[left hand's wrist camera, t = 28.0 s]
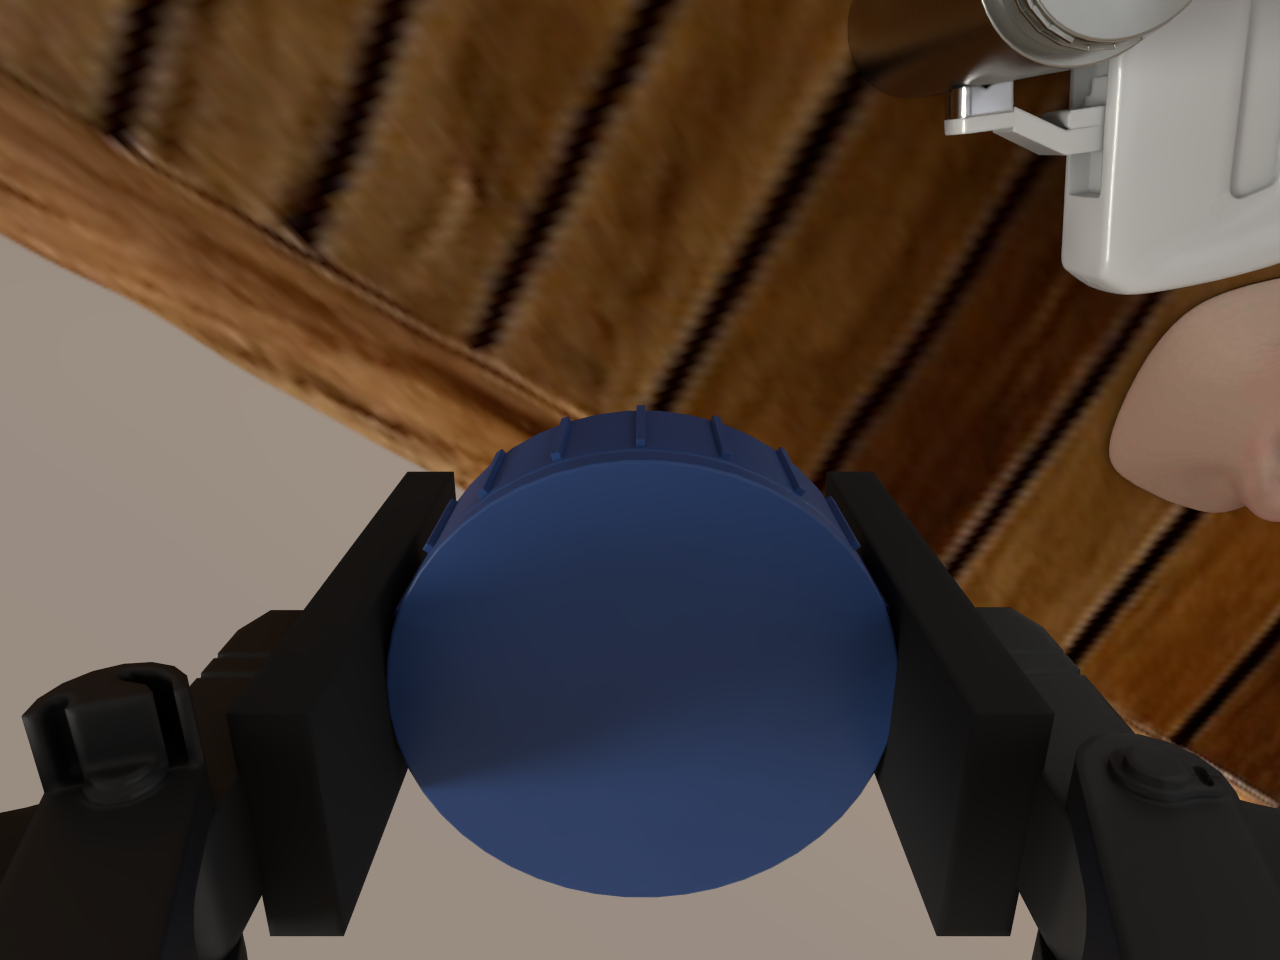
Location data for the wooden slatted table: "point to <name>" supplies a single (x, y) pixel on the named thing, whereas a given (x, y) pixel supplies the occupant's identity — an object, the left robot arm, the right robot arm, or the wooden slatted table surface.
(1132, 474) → the anatomical model
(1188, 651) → the wooden slatted table surface
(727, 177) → the wooden slatted table surface
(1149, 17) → the jar
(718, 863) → the lid
